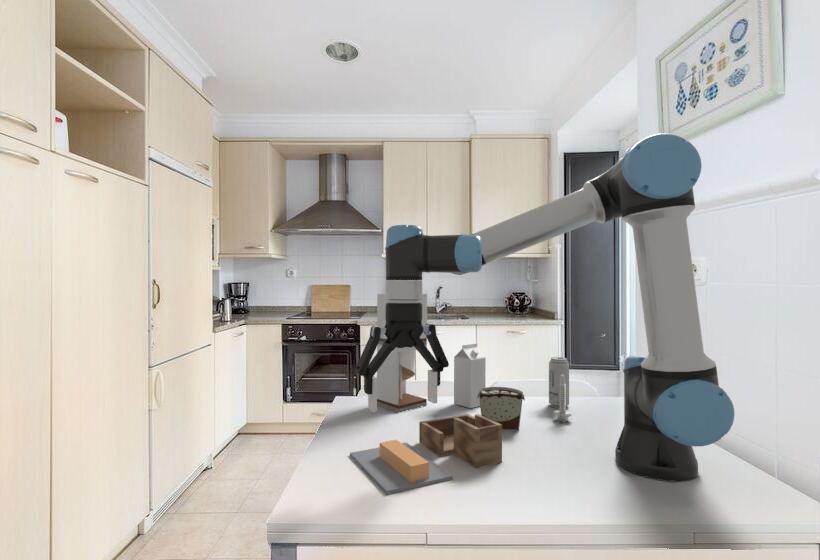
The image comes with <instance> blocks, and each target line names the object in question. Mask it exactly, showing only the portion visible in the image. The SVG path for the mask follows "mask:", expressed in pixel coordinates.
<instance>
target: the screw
mask: <svg viewBox="0 0 820 560" xmlns="http://www.w3.org/2000/svg"><path fill="white" fill-rule="evenodd" d="M559 396H560V397H559V398H560V399H559V400H560V401H559V402H560V408H559V409H555V410H553V415H555V416H556V417H557V421H558V422H561V421H562V423H566V421H567V422H569V417H571V416H572V415H573V414H572V412H570V411H569V410H567V408H566V384H565V375H563V374H562V375H561V377H560V395H559Z"/></svg>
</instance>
